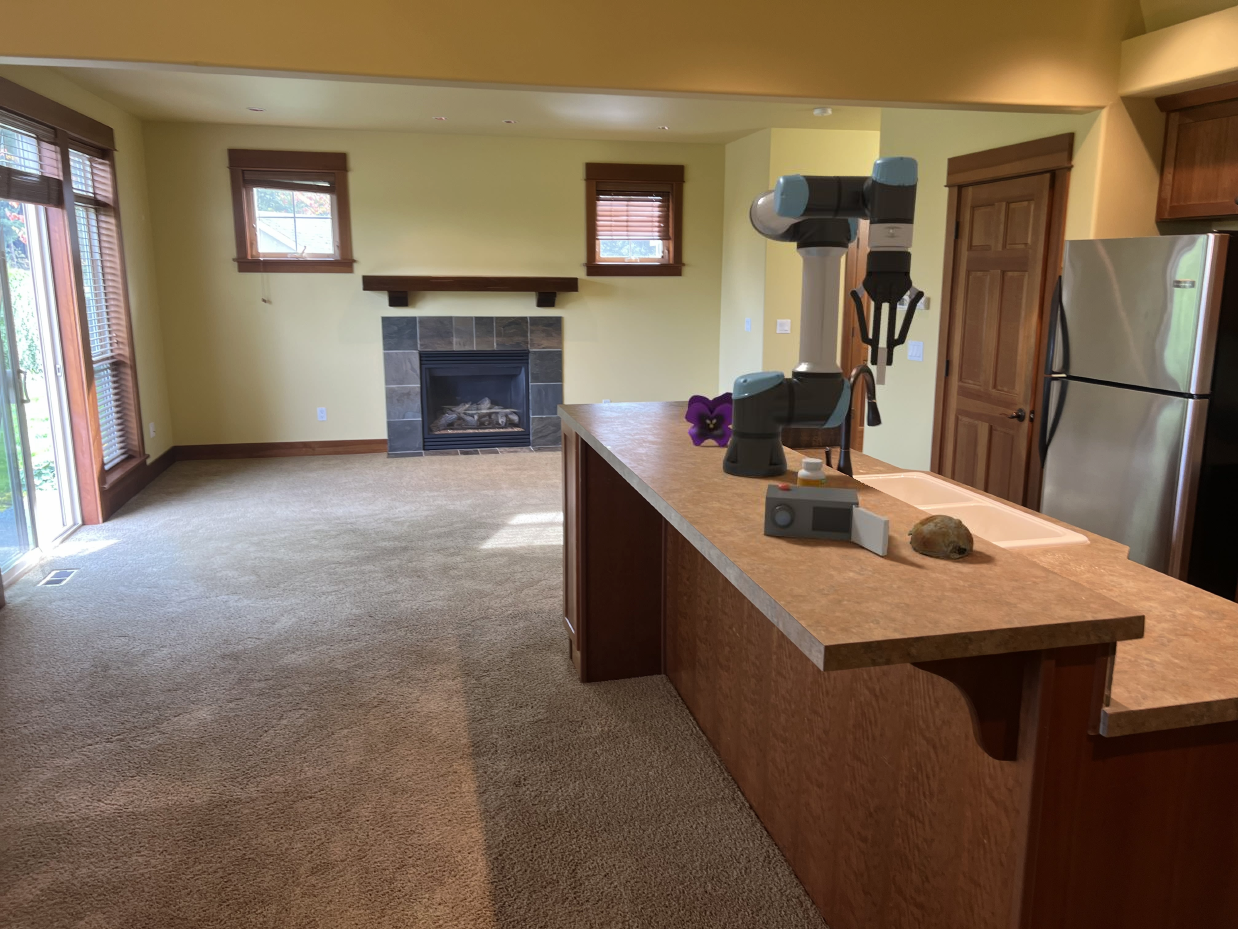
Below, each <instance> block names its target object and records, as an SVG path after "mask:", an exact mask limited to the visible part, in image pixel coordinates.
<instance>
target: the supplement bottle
mask: <svg viewBox="0 0 1238 929" xmlns="http://www.w3.org/2000/svg"><path fill="white" fill-rule="evenodd" d="M801 460H802V461H801V466H802V469H800V470H799V471H798V473H797V485H796V486H805V487H822V488H826V478H827V477H826V473H825V471H823V470H822V469H823V467H824V466H823V464H824V463H823V462H824V461H823V460H822V459H818V458H812V457H811V458H810V457H809V458H803V459H801Z"/></svg>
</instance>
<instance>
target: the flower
mask: <svg viewBox="0 0 1238 929" xmlns="http://www.w3.org/2000/svg"><path fill="white" fill-rule="evenodd" d="M732 395H733V392H730V391H726V392H724V393H722V394H721V395H719V396H716V397H715V396H714V397H713V398H712V399H711V400H710V398H709V397H706V396H704V395H700V394H695V395H694V394H693V395H692V396H690V398H689V399H688V402H687V403H688V404H687V410H686V412H685V416H684V418H685V421H686V422H688V423H690V424H692V426H690V427H689V429H688V431H687V434H688V435H689V437H690V438H691V441H692V443H693V446H697V447H700V446H702V444H703V443H704V442H705V441H708V440H712V441H714V442H715V443H716V444H717V445H718V446H719V447H720V448H725V447H728V445H729V442H730V440H731V431H732V427H730V426H732V405H733V399H732Z"/></svg>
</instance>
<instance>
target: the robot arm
mask: <svg viewBox="0 0 1238 929" xmlns="http://www.w3.org/2000/svg"><path fill="white" fill-rule="evenodd" d="M918 166H919V164H918V161H917V160H916V158H914V157H910V156H887V157H886V156H885V157H880V158H877V159H875V161H874V162H873V165H872V172H871V174H870V175H869V176H868V175H809V174H808V175H806V174H805V175H804V174H802V175H801V174H800V173H798V174H797V173H796V174H795V173H794V174H791V175H790V174H789V175H781V176H779V177H778V178H777V180H776V183H775V186H774V189H769V190H765V191H763V192H762V193H760V194H758V196H756V197H755V198H754V199H753V200H752V203H751V205H750V208H749V213H748V214H749V216H748V217H749V221H750V224H751V226H752V228H753V229H754V230H755V231H756V233H758V234H760V235H761V236H762V237H764V238H767V239H769V240H772V241H776V242H780V243H781V242H782V243H796V252H797V254H798V255H799V256H800V257H801V259H802V271H801V272H802V275H801V293H800V294H801V297H800V298H801V299H800V300H801V302H800V319H799V320H800V323H799V348H798V349H799V350H798V363H797V365H795V366H794V367H793V368H792V370H791V377H786V375H785V373H784V371H783V372H782V371H777V370H774V371H769V370H767V371H758V372H757V371H756V372H751V373H746V374H742V375H740V376H738V377H737V378H735V379H734V382H733V388H732V393H733V395H732V399H733V405H732V425H731V428H732V431H731V438H730V439H729V442H728V444H727V449H726V451H725V454H724V456H723V459H722V471H723V472H725V473H727V474H729V475H730V474H731V475H735V476H738V477H739V476H741V477H750V478H770V477H771V478H772V477H779V476H783V475H785V474H787V472H788V461H787V458H786V454H785V451H784V447H783V442H782V429H783V428H802V429H803V428H804V429H805V428H811V429H812V428H814V429H815V428H817V429H824V428H826V429H827V428H835V427H838V426H840V425H841V424H842V423H843V422H844V420H845V419H846V415H847V413H848V411H849V408H850V407H849V406H850V400H851V385H850V384H851V382H850V380H849V379H848V378H846V377H844V376H843V369H842V368H841V367H840V366H839V365H838V363H837V358H838V356H837V355H838V334H839V333H838V332H839V313H840V311H839V310H840V289H841V288H840V287H841V269H842V267H841V265H842V264H841V263H842V258H843V256H844V255H845V254H847V252H848V251H849V245H851V244H852V243H855V241H856V239H857V237H858V230H859V219H860V220H863V221H869V222H868V223H869V224H868V234H867V235H868V236H867V247H868V248H869V249H870V251H867V253H866V262H865V263H866V266H865V275H864V278H863V280H862V282H861V285H859V286H857V287H856V288H854V289H851V290H849V296H850V298H851V299H852V301H853V303H854V307H855V312H856V317H857V323H858V329H859V333H860V340H861V342H862V343H863V344H865V345H867V346H870V358H869V359H870V360H869V362H870V365H871V366H876V367H875V376H874V377H875V380H874V383H875V385H876V386H877V385H879V386H880V385H881V386H885V384H886V371H887V367H892V365H893V364H894V363H893V362H894V353H895V352H894V350H895V348H896V347H898V346H902V345H905V343H906V340H907V337H908V334H909V331H910V327H911V324H912V322H913V319H914V315H915V313H916V310H917V307H918V305H919V303H920V302H921V300H922V299H923V298H924V297H925V292H924V291H923V290H920V289H919V288H917V287H916V286H914V285H913V280H912V279H911V266H912V264H911V263H912V253H911V251H909V249H911V248H913V238H914V237H913V236H914V225H915V212H916V201H917V190H918V189H917V188H918V182H919V173H918V172H919V167H918ZM864 291H865V292H866V294H867V295H868V297H869V298H870V299H871V301H872V302H873V316H872V328H871V329H872V330H871V337H869V333H868V332H869V331H868V328H867V327H868V326H867V320H866V315H865V310H864V304H863V301H862V299H863V298H864ZM908 293H909V295H908V298H909V299H910V300H909V302H908V305H907V308H906V311H905V313H904V317H903V320H902V323H901V325H900V329H899V332H898V335H897V338H895V337H896V327H897V326H896V325H897V314H898V313H897V312H898V303H899V302H901V301H902V299H903V298H904V297H905V296H906V294H908ZM883 304H888V314H887V315H888V316H887V327H886V329H887V330H886V340H885V342H886V343H885V345H886V346H885V347H883V346H882V347H881V346H880V340H881V338H880V337H881V323H882V311H883V310H882V309H883Z"/></svg>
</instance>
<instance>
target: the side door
mask: <svg viewBox="0 0 1238 929" xmlns="http://www.w3.org/2000/svg"><path fill="white" fill-rule="evenodd" d="M889 535H890V519H887V518H886V517H883V516H881V515H878V514H877V513H874V512H872V511H870V510H867V509H865V508H863V507H860V504H859V505H853V513H852V528H851V541H850V542H852V543H856V544H858V545H859V546H862V547H864V548H865V549H868V550H869V551H872V552H873V553H875V554H878V555H879V556H881V557H882V556H883V557H884V556H887V554H888V546H889Z"/></svg>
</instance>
